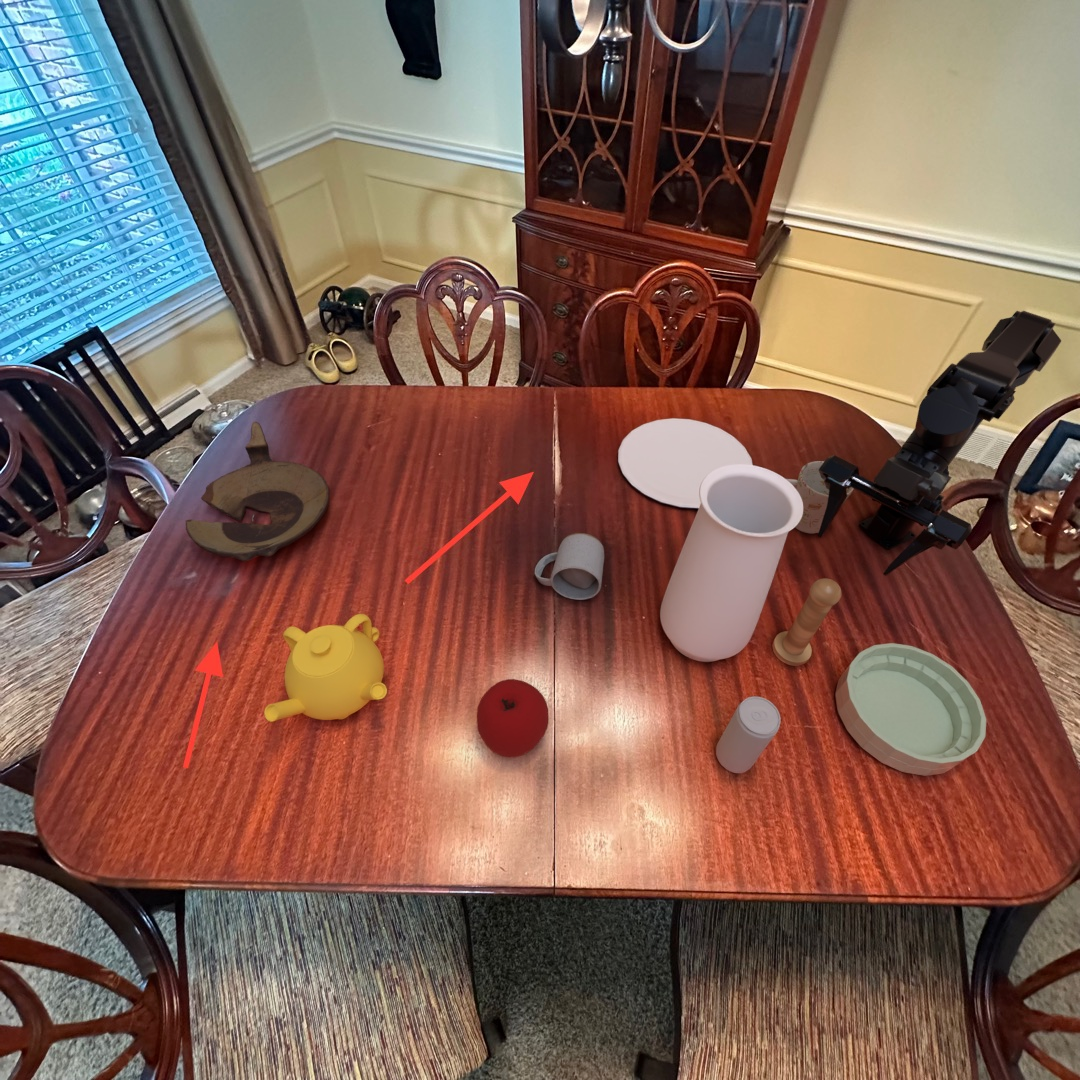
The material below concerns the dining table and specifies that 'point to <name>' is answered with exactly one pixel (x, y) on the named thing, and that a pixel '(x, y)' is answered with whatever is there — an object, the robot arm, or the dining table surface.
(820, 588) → the wooden pestle
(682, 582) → the vase
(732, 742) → the beverage can
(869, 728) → the bowl
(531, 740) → the apple
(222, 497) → the oil lamp
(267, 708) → the teapot
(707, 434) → the plate
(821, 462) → the mug
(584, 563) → the ceramic mug
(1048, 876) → the dining table surface
